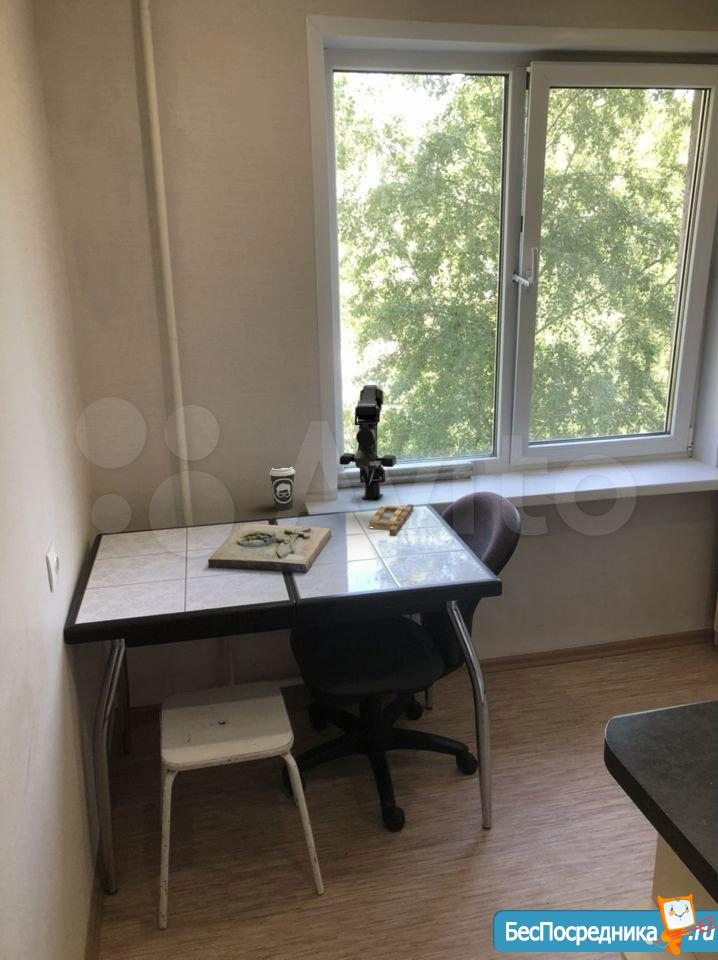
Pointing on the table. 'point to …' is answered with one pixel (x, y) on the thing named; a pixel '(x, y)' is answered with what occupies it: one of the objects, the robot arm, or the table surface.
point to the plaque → (271, 548)
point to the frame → (385, 517)
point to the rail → (401, 520)
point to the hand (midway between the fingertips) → (368, 484)
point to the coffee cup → (283, 487)
